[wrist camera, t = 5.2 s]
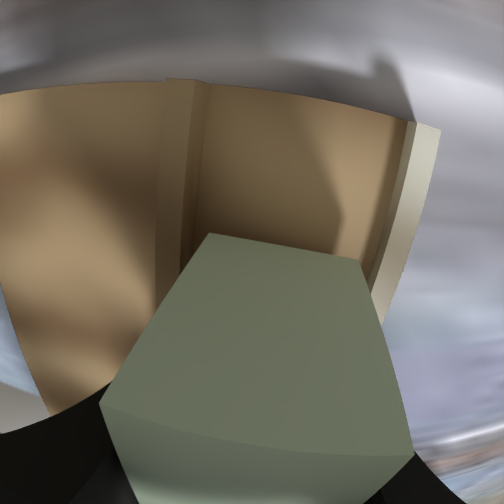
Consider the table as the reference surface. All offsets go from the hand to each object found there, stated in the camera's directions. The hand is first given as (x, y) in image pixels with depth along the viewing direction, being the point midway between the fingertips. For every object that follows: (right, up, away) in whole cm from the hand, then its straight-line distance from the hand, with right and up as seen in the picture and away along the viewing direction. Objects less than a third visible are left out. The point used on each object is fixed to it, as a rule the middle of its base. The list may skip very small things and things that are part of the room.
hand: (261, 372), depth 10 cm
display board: (-5, -1, +5) cm, 8 cm away
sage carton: (0, +1, +1) cm, 2 cm away
